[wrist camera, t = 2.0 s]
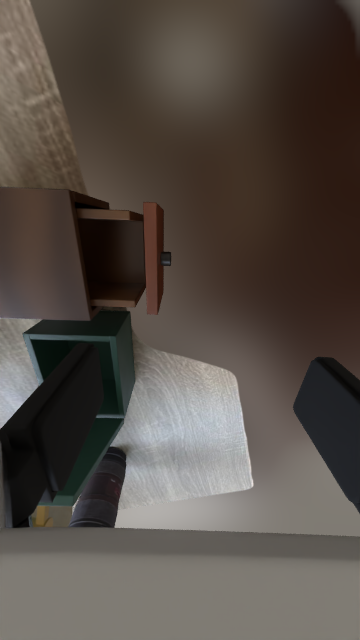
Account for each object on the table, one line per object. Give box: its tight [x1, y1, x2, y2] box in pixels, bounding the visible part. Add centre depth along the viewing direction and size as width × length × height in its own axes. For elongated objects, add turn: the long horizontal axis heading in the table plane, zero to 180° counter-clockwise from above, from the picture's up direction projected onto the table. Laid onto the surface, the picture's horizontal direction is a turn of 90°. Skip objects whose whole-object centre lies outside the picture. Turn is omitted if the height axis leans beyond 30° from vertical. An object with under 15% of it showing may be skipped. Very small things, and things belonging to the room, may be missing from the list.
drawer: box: [76, 202, 171, 315], centre depth 24 cm, size 14×11×9 cm
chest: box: [23, 310, 135, 418], centre depth 32 cm, size 15×12×8 cm
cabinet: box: [0, 187, 109, 321], centre depth 24 cm, size 14×12×11 cm
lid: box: [32, 418, 124, 527], centre depth 23 cm, size 15×12×5 cm
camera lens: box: [68, 447, 126, 528], centre depth 42 cm, size 8×8×15 cm
